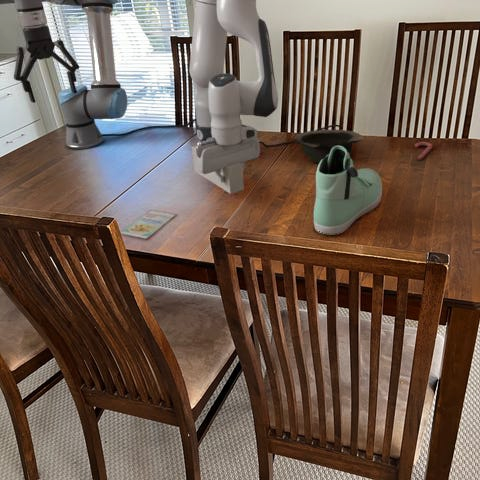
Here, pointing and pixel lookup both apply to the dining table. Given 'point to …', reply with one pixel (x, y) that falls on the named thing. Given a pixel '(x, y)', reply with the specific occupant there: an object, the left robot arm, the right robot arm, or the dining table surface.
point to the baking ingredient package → (147, 224)
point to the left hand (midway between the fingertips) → (54, 97)
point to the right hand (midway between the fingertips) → (230, 178)
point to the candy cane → (425, 149)
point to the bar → (230, 172)
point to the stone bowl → (325, 142)
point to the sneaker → (343, 192)
